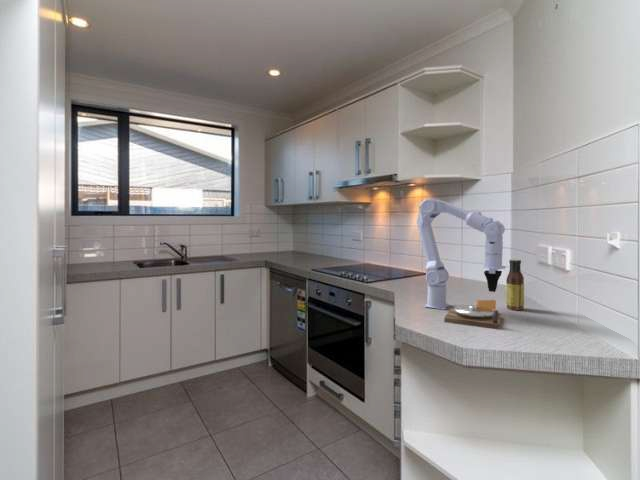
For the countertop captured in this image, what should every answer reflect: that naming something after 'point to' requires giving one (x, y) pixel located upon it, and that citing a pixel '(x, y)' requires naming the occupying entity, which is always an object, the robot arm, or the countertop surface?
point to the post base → (474, 319)
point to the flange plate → (477, 309)
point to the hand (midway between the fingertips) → (492, 290)
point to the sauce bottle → (515, 286)
